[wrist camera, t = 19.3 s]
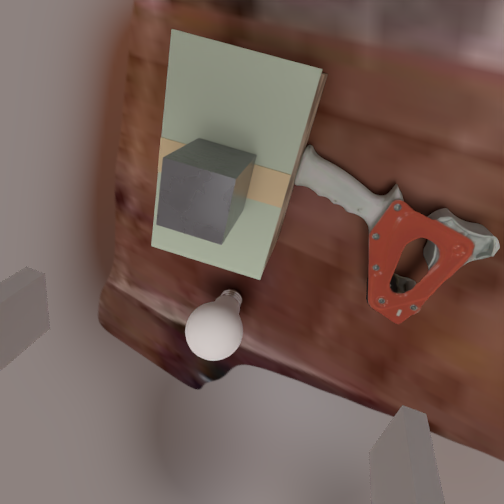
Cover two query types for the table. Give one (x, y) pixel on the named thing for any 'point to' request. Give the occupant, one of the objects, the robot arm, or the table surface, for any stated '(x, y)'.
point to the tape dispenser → (398, 237)
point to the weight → (204, 189)
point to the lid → (236, 136)
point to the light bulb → (216, 327)
